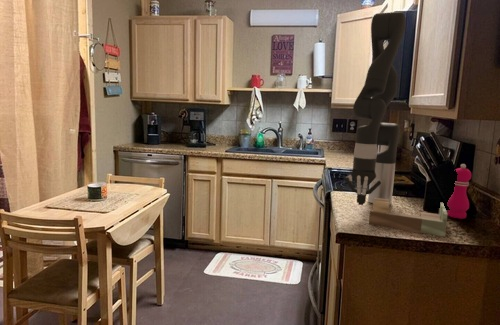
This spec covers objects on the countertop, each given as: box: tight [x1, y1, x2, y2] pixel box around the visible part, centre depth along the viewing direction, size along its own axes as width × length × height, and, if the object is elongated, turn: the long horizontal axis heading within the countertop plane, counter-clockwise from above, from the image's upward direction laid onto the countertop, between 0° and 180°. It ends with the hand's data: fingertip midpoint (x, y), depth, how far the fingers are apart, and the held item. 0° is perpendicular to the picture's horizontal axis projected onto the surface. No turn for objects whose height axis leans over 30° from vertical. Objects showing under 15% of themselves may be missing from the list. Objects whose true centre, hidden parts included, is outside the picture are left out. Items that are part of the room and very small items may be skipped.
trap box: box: [368, 202, 448, 237], centre depth 127 cm, size 17×23×7 cm
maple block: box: [372, 198, 390, 213], centre depth 127 cm, size 5×5×5 cm
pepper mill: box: [447, 163, 472, 220], centre depth 136 cm, size 7×7×20 cm
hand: (360, 204), depth 130 cm, fingers closed
